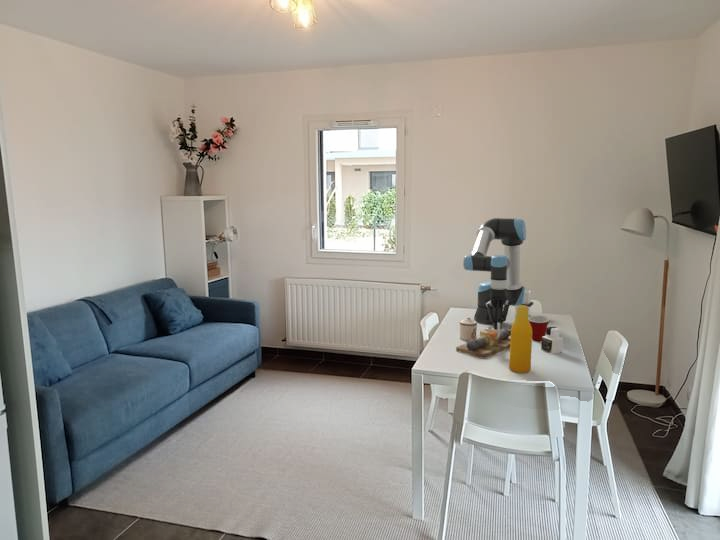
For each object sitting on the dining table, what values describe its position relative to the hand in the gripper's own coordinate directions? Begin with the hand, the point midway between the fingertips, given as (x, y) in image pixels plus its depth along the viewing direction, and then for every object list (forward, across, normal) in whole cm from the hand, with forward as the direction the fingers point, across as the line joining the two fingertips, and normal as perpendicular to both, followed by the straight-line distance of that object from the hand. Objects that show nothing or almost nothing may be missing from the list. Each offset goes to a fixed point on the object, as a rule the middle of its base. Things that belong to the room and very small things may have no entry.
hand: (497, 335), depth 265 cm
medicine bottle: (+10, -28, +5) cm, 29 cm away
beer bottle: (+9, +2, +23) cm, 25 cm away
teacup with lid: (+9, +1, -28) cm, 30 cm away
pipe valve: (+9, -1, -10) cm, 13 cm away
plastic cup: (+10, -32, -13) cm, 36 cm away
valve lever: (0, +1, -5) cm, 5 cm away
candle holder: (+10, -53, -61) cm, 81 cm away
